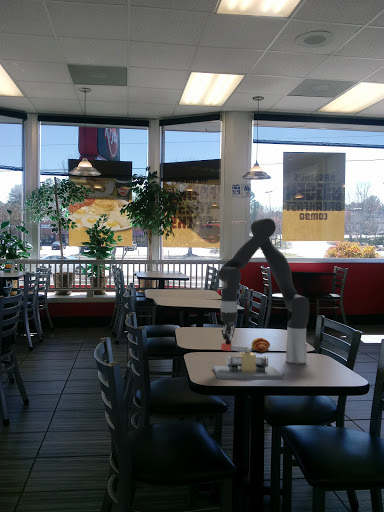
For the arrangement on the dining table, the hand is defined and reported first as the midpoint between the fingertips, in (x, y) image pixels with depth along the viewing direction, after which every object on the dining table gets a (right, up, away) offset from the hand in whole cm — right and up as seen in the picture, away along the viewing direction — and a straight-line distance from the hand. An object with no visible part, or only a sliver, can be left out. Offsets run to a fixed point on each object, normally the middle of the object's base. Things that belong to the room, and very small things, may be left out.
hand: (228, 348), depth 210 cm
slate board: (+8, -10, -7) cm, 15 cm away
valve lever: (+3, 0, -5) cm, 6 cm away
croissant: (+22, -10, +46) cm, 52 cm away
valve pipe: (+8, -9, -8) cm, 14 cm away
